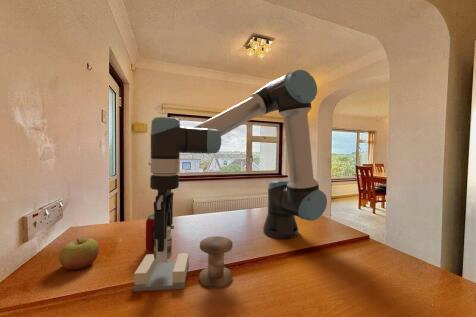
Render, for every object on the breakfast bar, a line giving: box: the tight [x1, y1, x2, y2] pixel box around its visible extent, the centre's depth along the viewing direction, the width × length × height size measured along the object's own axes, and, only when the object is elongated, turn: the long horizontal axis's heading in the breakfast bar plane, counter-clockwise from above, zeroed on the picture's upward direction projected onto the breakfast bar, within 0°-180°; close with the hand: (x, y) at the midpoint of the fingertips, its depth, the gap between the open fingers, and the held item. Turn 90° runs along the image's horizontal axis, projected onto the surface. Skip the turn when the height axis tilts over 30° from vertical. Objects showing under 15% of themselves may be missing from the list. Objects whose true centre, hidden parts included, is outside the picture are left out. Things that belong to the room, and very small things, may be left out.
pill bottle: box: [153, 226, 173, 261], centre depth 60 cm, size 5×5×8 cm
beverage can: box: [145, 213, 154, 254], centre depth 77 cm, size 7×7×12 cm
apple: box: [58, 237, 100, 271], centre depth 65 cm, size 10×10×8 cm
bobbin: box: [199, 236, 233, 289], centre depth 60 cm, size 9×9×10 cm
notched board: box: [132, 252, 190, 292], centre depth 61 cm, size 12×12×4 cm
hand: (163, 256), depth 60 cm, fingers closed on pill bottle, 5 cm apart
